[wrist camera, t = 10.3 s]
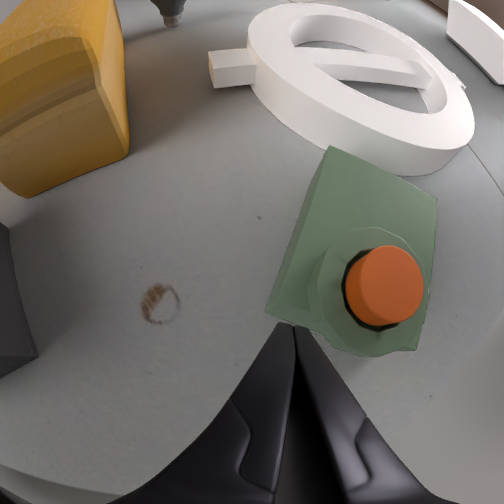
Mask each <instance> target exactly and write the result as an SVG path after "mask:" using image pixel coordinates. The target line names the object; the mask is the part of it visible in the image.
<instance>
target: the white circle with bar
mask: <svg viewBox="0 0 504 504" xmlns="http://www.w3.org/2000/svg"><path fill="white" fill-rule="evenodd" d="M311 41H331V42H338V43H343V44H347V45H351V46H354V47H357V48H360V49H362V50H365V51H367V52H369V53H366V52H358V51H350V50H340V49H329V48H312V47H295V46H296V45H299V44H301V43H305V42H311ZM208 62H209V73H210V77H211V80H212V83H213V87H214V88H222V87H230V86H238V85H248V84H250V86H251V88H252V90H253V92H254V93H255V95H256V96H257V97H258V99H259V100H260V101H261V103H262V104H263V105H264V106H265V107H266V108H267V109H268V110H269V111H270V112H271V113H272V114H273V115H274V116H275V117H276V118H278V119H279V120H280V121H281V122H282V123H284V124H285V125H286V126H287V127H289V128H290V129H292V130H293V131H294V132H296V133H297V134H299V135H300V136H302V137H303V138H305V139H306V140H308V141H310V142H311V143H313V144H315V145H316V146H318V147H320V148H322V149H324V150H327V148H328V146H329V145H331V146H334V147H336V148H338V149H341V150H343V151H345V152H347V153H350V154H352V155H354V156H356V157H359V158H361V159H363V160H365V161H367V162H369V163H371V164H373V165H375V166H378V167H380V168H382V169H384V170H386V171H388V172H390V173H392V174H393V175H400V176H421V175H427V174H431V173H433V172H436V171H437V170H439V169H441V168H442V167H443V166H444V165H446V164H447V163H448V162H449V161H450V160H451V159H452V158H453V157H454V156H455V155H456V154H457V153H458V152H459V151H460V150H461V149H462V148H463V147H464V146H465V145H466V144H467V143H468V142H469V141H470V139H471V138H472V136H473V133H474V128H475V121H474V115H473V111H472V108H471V105H470V103H469V100H468V98H467V96H466V95H465V93H464V89H465V88H466V87H465V86H464V85H463V83H462V82H461V81H460V80H459V78H458V77H457V76H456V75H455V74H454V73H453V72H450V71H448V69H447V68H446V67H445V66H444V65H443V64H442V63H441V62H440V61H439V60H438V59H437V58H436V57H435V56H434V55H433V54H431V53H430V52H429V51H428V50H427V49H425V48H424V47H423V46H422V45H420V44H419V43H418V42H416V41H415V40H413V39H412V38H410V37H409V36H407V35H406V34H404V33H402V32H401V31H399V30H397V29H396V28H394V27H392V26H390V25H388V24H386V23H384V22H382V21H380V20H377V19H375V18H373V17H370V16H368V15H365V14H362V13H359V12H356V11H353V10H349V9H346V8H342V7H337V6H332V5H326V4H318V3H290V4H283V5H278V6H274V7H271V8H268V9H266V10H264V11H262V12H261V13H259V14H258V15H256V16H255V17H254V18H253V20H252V21H251V23H250V25H249V28H248V38H247V48H240V49H229V50H219V51H210V52H208ZM338 80H349V81H364V82H375V83H385V84H393V85H401V86H408V87H414V88H416V89H417V91H418V92H419V93H420V95H421V97H422V98H423V100H424V102H425V105H426V107H427V110H428V114H421V113H414V112H410V111H406V110H402V109H399V108H396V107H393V106H390V105H387V104H385V103H382V102H380V101H378V100H375V99H373V98H371V97H369V96H366V95H364V94H362V93H360V92H358V91H356V90H354V89H352V88H350V87H349V86H347V85H345V84H343V83H341V82H340V81H338Z"/></svg>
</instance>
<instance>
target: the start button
mask: <svg viewBox="0 0 504 504" xmlns="http://www.w3.org/2000/svg"><path fill="white" fill-rule="evenodd" d="M345 292H346V298H347V302H348V304H349V306H350V308H351V310H352V311H353V313H354V314H355V315H356V316H357V317H358V318H359V319H360V320H361V321H363V322H365V323H367V324H369V325H374V326H381V325H387V324H393V323H398V322H402V321H405V320H406V319H408V318H409V317H411V316H412V315H413V314H414V313H415V311H416V310H417V308H418V307H419V305H420V302H421V299H422V295H423V280H422V276H421V272H420V270H419V267H418V265H417V264H416V262H415V261H414V259H413V258H412V257H411V256H410V255H409V254H408V253H407V252H405V251H404V250H402V249H401V248H398V247H395V246H388V245H387V246H380V247H378V248H375V249H374V250H372V251H371V252H369V253H368V254H366V255H365V256H364V257H362V258H361V259H359V260H358V261H357V262H356V263H355V264H354V265H353V266H352V267H351V269H350V271H349V273H348V275H347V278H346V285H345Z"/></svg>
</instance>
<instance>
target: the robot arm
mask: <svg viewBox="0 0 504 504" xmlns="http://www.w3.org/2000/svg"><path fill="white" fill-rule="evenodd" d="M366 416H367V415H366V413H365V412H364V410H363V409H362V408H361V406H360V405H359V403H358V402H357V400H356V399H355V397H354V396H353V394H352V393H351V391H350V390H349V388H348V387H347V385H346V384H345V383H344V381H343V380H342V378H341V377H340V375H339V374H338V372H337V371H336V369H335V368H334V366H333V365H332V363H331V362H330V361H329V359H328V358H327V356H326V355H325V353H324V352H323V350H322V349H321V347H320V346H319V344H318V343H317V341H316V340H315V339H314V337H313V336H312V334H311V333H310V331H309V330H308V329H307V328H306V327H301V326H296V325H294V326H292V325H291V324H287V323H282V322H279V323H277V325H276V327H275V328H274V330H273V331H272V333H271V335H270V336H269V338H268V339H267V341H266V343H265V344H264V346H263V347H262V349H261V351H260V352H259V354H258V355H257V357H256V358H255V360H254V361H253V363H252V365H251V366H250V368H249V369H248V371H247V372H246V374H245V375H244V377H243V378H242V380H241V381H240V383H239V384H238V386H237V387H236V389H235V390H234V392H233V393H232V395H231V396H230V398H229V400H227V402H226V403H225V405H224V406H223V407H222V409H221V410H220V412H219V413H218V414H217V416H216V417H215V418H214V419H213V421H212V422H211V423H210V425H209V426H208V427H207V428H206V429H205V430H204V431H203V432H202V433H201V434H200V435H199V436H198V437H197V438H196V440H195V441H193V442H192V443H191V444H190V445H189V446H188V447H187V448H186V449H185V450H184V451H183V452H182V453H181V454H180V455H179V456H178V457H176V458H175V459H174V460H173V461H172V462H171V463H170V464H169V465H168V466H167V467H165V468H164V469H163V470H162V471H161V472H160V473H159V474H157V475H156V476H155V477H154V478H152V479H151V480H150V481H148V482H147V483H145V484H144V485H143V486H141V487H139V488H138V489H136V490H134V491H132V492H130V493H128V494H126V495H124V496H122V497H120V498H118V499H116V500H114V501H112V502H110V503H107V504H458V503H455V502H451V501H448V500H444V499H442V498H439V497H437V496H435V495H434V494H432V493H431V492H429V491H428V490H427V489H426V488H425V487H424V486H423V485H422V484H421V483H420V482H419V481H418V480H417V479H416V477H415V476H414V475H413V474H412V473H411V472H410V470H409V469H408V468H407V467H406V466H405V465H404V463H403V462H402V461H401V460H400V459H399V458H398V457H397V455H396V454H395V453H394V452H393V451H392V449H391V448H390V447H389V445H388V444H387V443H386V442H385V440H384V439H383V438H382V436H381V435H380V433H379V432H378V431H377V429H376V428H375V426H374V425H373V424H372V422H371V421H370V419H369V418H368V417H366ZM0 504H31V503H30V502H27V501H26V500H24V499H22V498H20V497H18V496H16V495H15V494H13V493H11V492H10V491H8V490H6V489H4V488H3V487H0Z"/></svg>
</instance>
